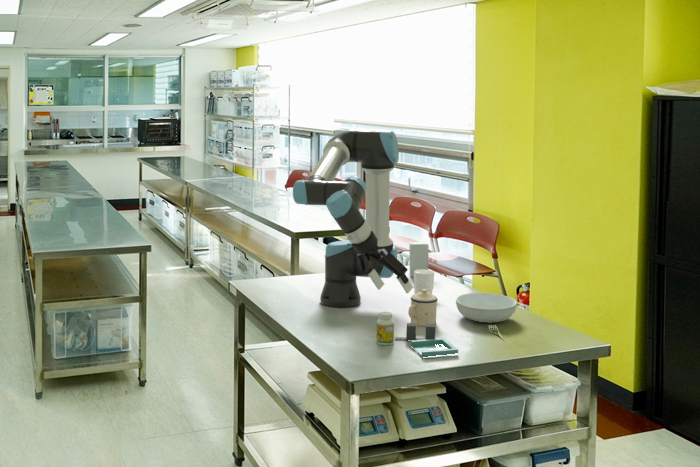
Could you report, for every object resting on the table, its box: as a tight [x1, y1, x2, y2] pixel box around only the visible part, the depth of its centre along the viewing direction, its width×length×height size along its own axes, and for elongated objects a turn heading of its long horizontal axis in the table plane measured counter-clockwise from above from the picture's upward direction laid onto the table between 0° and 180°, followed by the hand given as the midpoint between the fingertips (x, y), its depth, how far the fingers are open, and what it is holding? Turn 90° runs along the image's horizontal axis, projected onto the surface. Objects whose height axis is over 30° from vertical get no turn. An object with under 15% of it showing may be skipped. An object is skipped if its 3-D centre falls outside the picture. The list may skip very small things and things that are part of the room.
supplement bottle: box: [376, 311, 395, 346], centre depth 221 cm, size 5×5×10 cm
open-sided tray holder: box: [410, 337, 459, 358], centre depth 214 cm, size 11×11×2 cm
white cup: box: [413, 269, 435, 295], centre depth 277 cm, size 8×8×10 cm
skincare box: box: [409, 241, 429, 278], centre depth 311 cm, size 8×6×15 cm
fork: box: [488, 324, 498, 330], centre depth 227 cm, size 3×20×2 cm, turn 9°
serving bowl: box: [455, 292, 518, 324], centre depth 248 cm, size 21×21×7 cm
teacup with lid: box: [408, 289, 438, 327], centre depth 241 cm, size 12×9×12 cm
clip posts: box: [394, 322, 436, 342], centre depth 224 cm, size 16×3×5 cm, turn 84°
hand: (395, 288), depth 223 cm, fingers open, 13 cm apart
